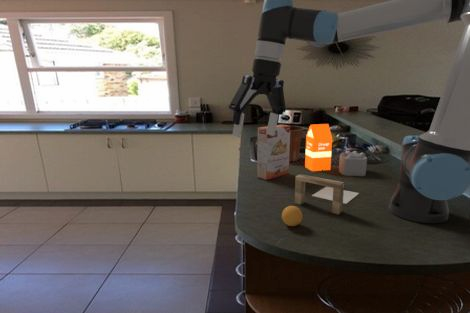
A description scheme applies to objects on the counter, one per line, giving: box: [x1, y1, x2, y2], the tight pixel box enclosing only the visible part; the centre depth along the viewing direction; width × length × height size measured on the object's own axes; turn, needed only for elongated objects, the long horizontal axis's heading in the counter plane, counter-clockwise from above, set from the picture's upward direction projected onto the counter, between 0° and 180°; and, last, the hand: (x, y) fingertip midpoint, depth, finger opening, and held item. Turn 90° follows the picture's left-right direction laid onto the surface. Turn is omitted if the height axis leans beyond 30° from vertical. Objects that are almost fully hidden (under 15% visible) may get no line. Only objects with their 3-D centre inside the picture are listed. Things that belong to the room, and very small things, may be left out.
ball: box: [281, 205, 303, 227], centre depth 86 cm, size 6×6×6 cm
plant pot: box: [289, 125, 305, 163], centre depth 158 cm, size 16×16×16 cm
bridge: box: [294, 173, 345, 215], centre depth 97 cm, size 3×14×9 cm, turn 50°
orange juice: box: [304, 123, 333, 172], centre depth 140 cm, size 8×9×20 cm
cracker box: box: [256, 124, 291, 181], centre depth 130 cm, size 14×6×21 cm, turn 131°
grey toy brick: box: [338, 150, 368, 177], centre depth 136 cm, size 10×13×9 cm
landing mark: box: [311, 186, 360, 205], centre depth 109 cm, size 12×12×1 cm
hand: (254, 135), depth 91 cm, fingers open, 13 cm apart
